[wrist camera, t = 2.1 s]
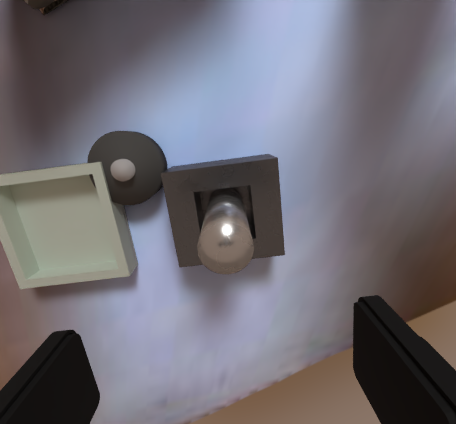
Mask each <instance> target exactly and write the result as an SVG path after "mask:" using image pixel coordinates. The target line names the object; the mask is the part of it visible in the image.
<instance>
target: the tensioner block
mask: <svg viewBox="0 0 456 424" xmlns="http://www.w3.org/2000/svg"><path fill="white" fill-rule="evenodd" d="M161 177H162V182H163V187H164V192H165V197H166V202H167V207H168V212H169V217H170V222H171V227H172V232H173V237H174V242H175V247H176V252H177V257H178V262H179V267H187V266H195V265H203V263H202V262H201V260H200V258H199V256H198V251H197V245H198V240H199V237H200V233H201V229H202V225H203V221H204V218H205V214H206V210H207V206H208V202H209V199H210V197H211V195H212V194H213V193H214V192H215V191H216V190H218V189H223V188H231V189H234V190H235V191H237V192H238V193H239V194H240V196H241V198H242V200H243V204H244V208H245V212H246V216H247V220H248V224H249V228H250V232H251V236H252V240H253V245H254V252H253V256H252V259H255V258H263V257H271V256H280V255H285V251H284V238H283V224H282V210H281V197H280V183H279V170H278V158H277V157H274V156H272V155H270V154H265V155H257V156H249V157H242V158H234V159H227V160H219V161H211V162H204V163H196V164H188V165H181V166H173V167H171V168H169V169H167V170H165V171H164V172H162V173H161Z"/></svg>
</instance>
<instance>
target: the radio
mask: <svg viewBox="0 0 456 424" xmlns="http://www.w3.org/2000/svg"><path fill="white" fill-rule="evenodd" d="M24 1H25V2H26V3H27V4H28V5H30V6H31V7H32V8H33V9H40V11H41V12H42V14H43V15H45V14H47V13H49V12H50V11H52V10H54V9H55V8H57V7H58V6H60V5H62V4H63V3H65V2H67V1H68V0H24Z"/></svg>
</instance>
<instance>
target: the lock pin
mask: <svg viewBox="0 0 456 424" xmlns="http://www.w3.org/2000/svg"><path fill="white" fill-rule="evenodd" d="M197 251H198V256H199V258H200V260H201V262H202V263H203V265H204V266H205V267H207V268H208V269H209V270H211V271H213V272H215V273H219V274H232V273H236V272H238V271H240V270H242V269H243V268H245V267H246V266H247V265H248V263H249V262H250V260H251V259H252V256H253V252H254V245H253V240H252V236H251V232H250V228H249V224H248V220H247V216H246V212H245V208H244V204H243V200H242V198H241V196H240V194H239V193H238V192H237V191H235V190H234V189H231V188H223V189H218V190H216V191H215V192H214V193H213V194H212V195H211V197H210V199H209V202H208V206H207V210H206V214H205V218H204V221H203V225H202V229H201V233H200V237H199V240H198V245H197Z"/></svg>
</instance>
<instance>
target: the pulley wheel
mask: <svg viewBox="0 0 456 424" xmlns="http://www.w3.org/2000/svg"><path fill="white" fill-rule="evenodd" d="M95 162H102V166H103V170H104V173H105V177H106V181H107V185H108V189H109V193H110V196H111V200H112V202H114V203H117V204H122V205H136V204H140V203H142V202H144V201H146V200H148V199H149V198H150V197H152V196H153V195H154V194H155V193H157V192H158V191H159V190H160V189H161V187H162V186H163V182H162V177H161V173H162V172H164V171H165V170H167V161H166V158H165V155H164V153H163V151H162V149H161V148H160V146H159V145H158V144H157V143H156V142H155V141H154V140H153V139H151V138H150V137H148V136H146V135H144V134H142V133H138V132H132V131H114V132H110V133H107V134H105V135H103V136H102V137H100V138H99V139H98V140H97V141H96V142H95V143H94V145H93V146H92V148H91V150H90V152H89V155H88V163H95ZM88 163H87V164H88ZM89 176H90V179H91V181H92V183H93V185H94V186H95V188H96V185H95V182H94V178H93V174H89Z"/></svg>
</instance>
